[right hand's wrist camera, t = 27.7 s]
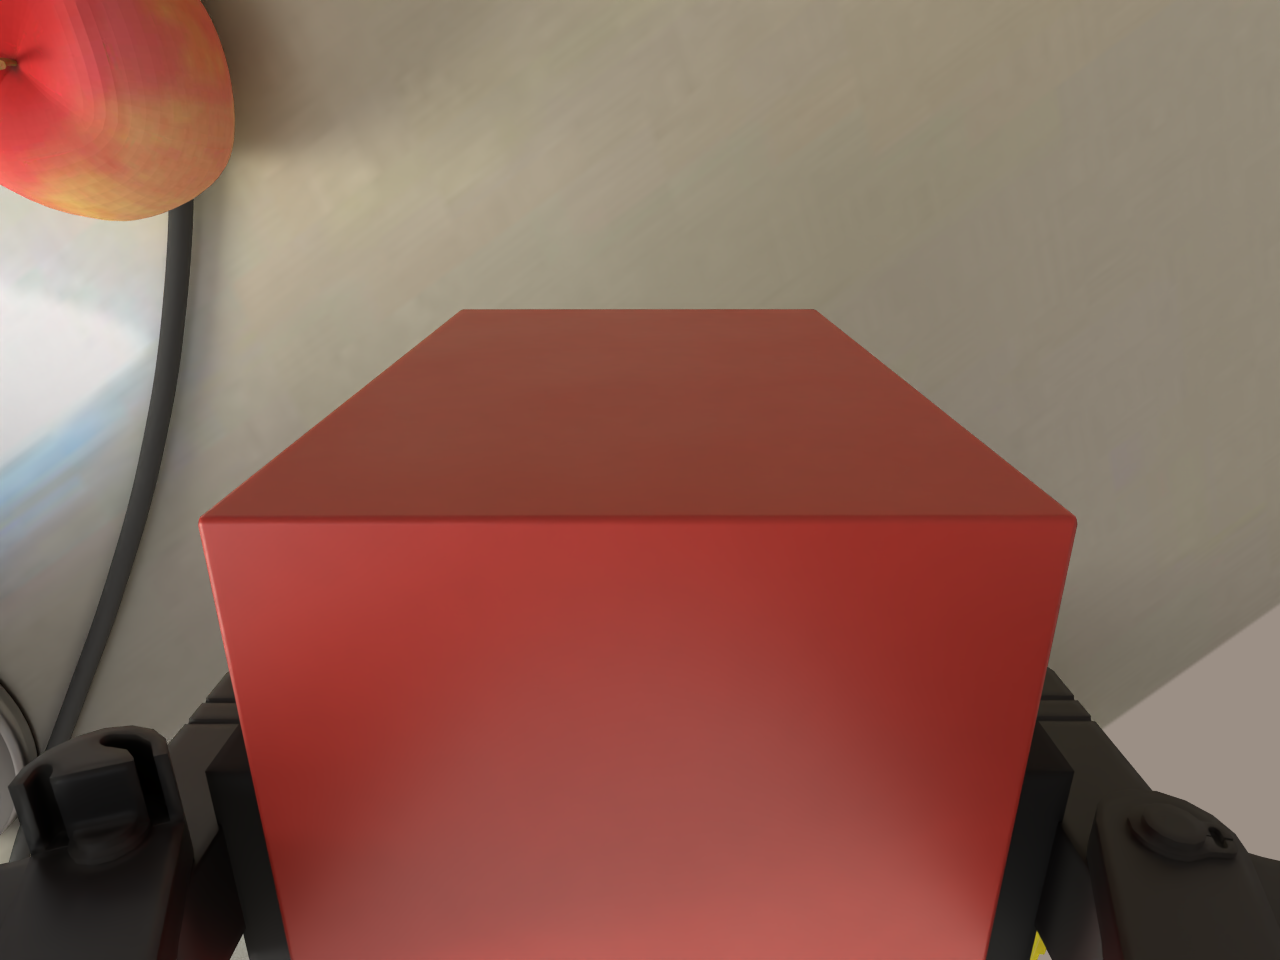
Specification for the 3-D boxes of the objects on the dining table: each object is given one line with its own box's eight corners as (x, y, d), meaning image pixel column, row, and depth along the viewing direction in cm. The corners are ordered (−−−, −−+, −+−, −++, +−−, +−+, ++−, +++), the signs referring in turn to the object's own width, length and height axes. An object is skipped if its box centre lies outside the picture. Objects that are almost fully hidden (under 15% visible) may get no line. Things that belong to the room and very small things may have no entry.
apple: (30, 154, 35) (-195, 144, 25) (71, -86, 32) (-168, -198, 22) (251, 248, 36) (115, 271, 27) (310, 25, 33) (180, -36, 24)
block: (787, 682, 19) (938, 1200, 9) (489, 682, 19) (338, 1201, 9) (816, 309, 16) (1083, 516, 6) (460, 308, 16) (192, 516, 6)
